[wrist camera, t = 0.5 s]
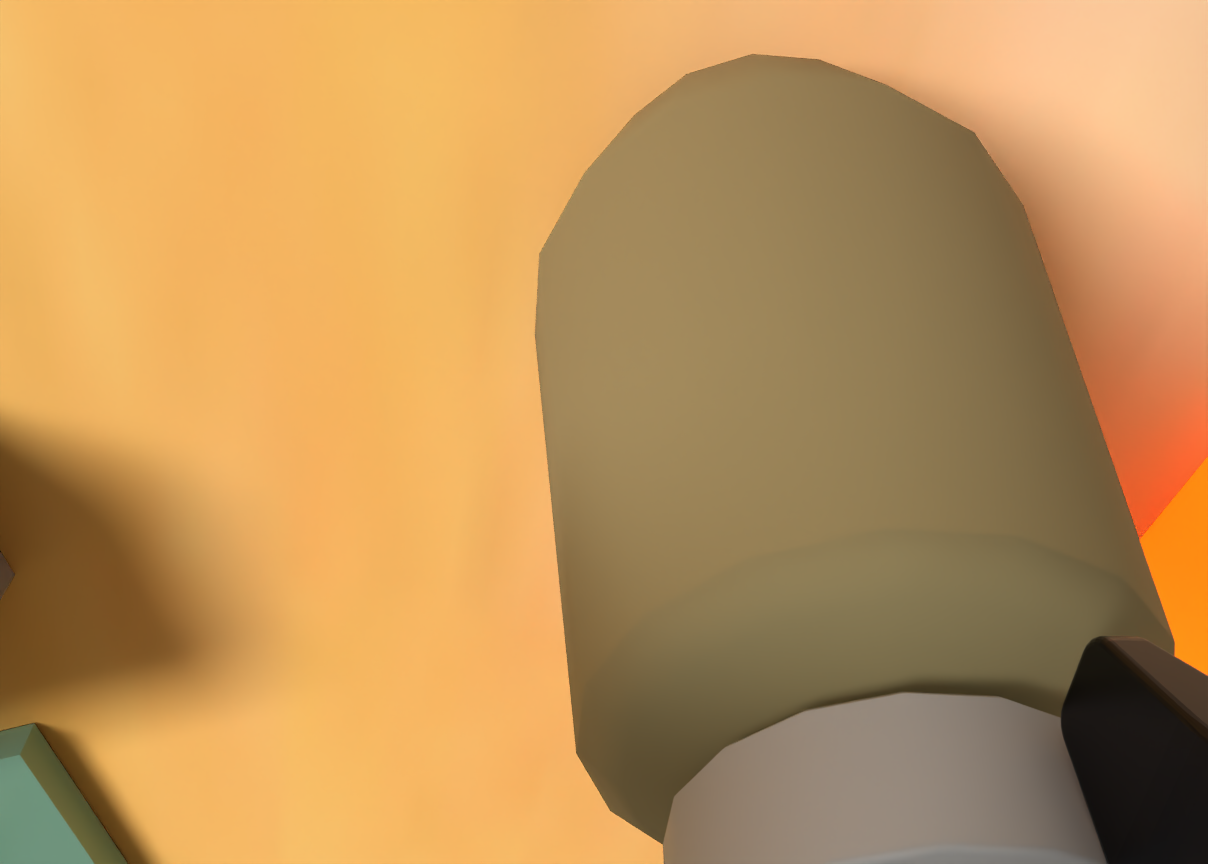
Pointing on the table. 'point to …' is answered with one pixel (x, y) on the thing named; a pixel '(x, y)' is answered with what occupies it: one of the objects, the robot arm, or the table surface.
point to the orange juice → (1183, 567)
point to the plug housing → (4, 575)
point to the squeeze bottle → (823, 484)
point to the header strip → (45, 808)
